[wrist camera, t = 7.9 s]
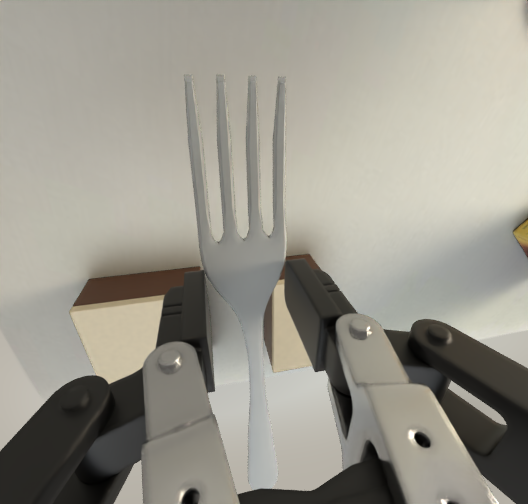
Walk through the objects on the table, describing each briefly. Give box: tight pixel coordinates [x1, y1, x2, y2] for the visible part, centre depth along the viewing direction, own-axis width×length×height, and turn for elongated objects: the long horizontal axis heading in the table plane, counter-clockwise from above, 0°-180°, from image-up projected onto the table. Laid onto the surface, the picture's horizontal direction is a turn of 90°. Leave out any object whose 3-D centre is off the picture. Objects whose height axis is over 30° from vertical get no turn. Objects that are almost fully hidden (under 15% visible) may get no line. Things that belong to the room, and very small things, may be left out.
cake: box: [69, 267, 200, 384], centre depth 22 cm, size 8×9×4 cm
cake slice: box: [264, 254, 321, 373], centre depth 24 cm, size 4×9×4 cm, turn 1°
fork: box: [184, 75, 287, 490], centre depth 13 cm, size 3×24×2 cm, turn 2°
